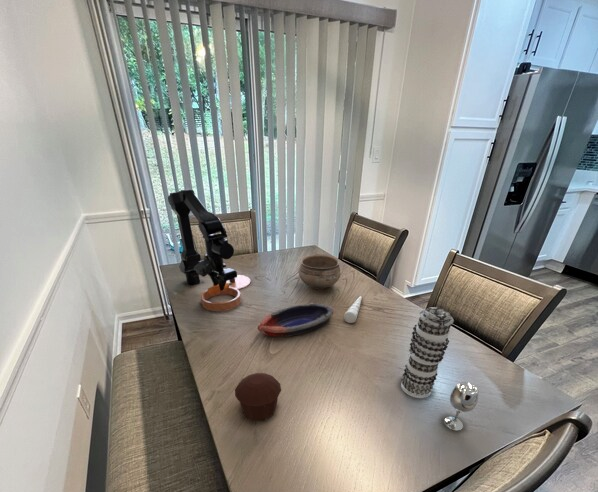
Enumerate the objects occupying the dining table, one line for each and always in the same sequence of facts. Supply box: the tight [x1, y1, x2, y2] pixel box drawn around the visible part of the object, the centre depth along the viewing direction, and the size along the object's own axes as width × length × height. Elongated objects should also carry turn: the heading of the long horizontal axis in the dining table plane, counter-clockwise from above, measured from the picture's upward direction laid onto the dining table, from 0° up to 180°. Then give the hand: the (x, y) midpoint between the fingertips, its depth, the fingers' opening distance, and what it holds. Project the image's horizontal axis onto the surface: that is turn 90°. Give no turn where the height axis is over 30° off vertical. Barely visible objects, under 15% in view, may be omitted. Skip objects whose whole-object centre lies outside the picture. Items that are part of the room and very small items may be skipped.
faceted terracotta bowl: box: [200, 287, 242, 312], centre depth 133 cm, size 16×16×4 cm
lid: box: [227, 274, 252, 291], centre depth 149 cm, size 17×17×5 cm
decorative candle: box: [400, 306, 455, 399], centre depth 86 cm, size 9×9×25 cm
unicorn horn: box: [343, 295, 363, 324], centre depth 130 cm, size 5×24×5 cm, turn 156°
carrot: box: [206, 282, 232, 295], centre depth 131 cm, size 11×3×3 cm, turn 138°
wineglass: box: [443, 381, 479, 431], centre depth 78 cm, size 6×6×12 cm
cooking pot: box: [298, 253, 342, 290], centre depth 146 cm, size 25×19×12 cm
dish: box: [257, 303, 334, 337], centre depth 119 cm, size 16×31×5 cm, turn 118°
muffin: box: [234, 372, 282, 422], centre depth 83 cm, size 12×11×10 cm
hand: (219, 289), depth 131 cm, fingers closed on carrot, 3 cm apart
